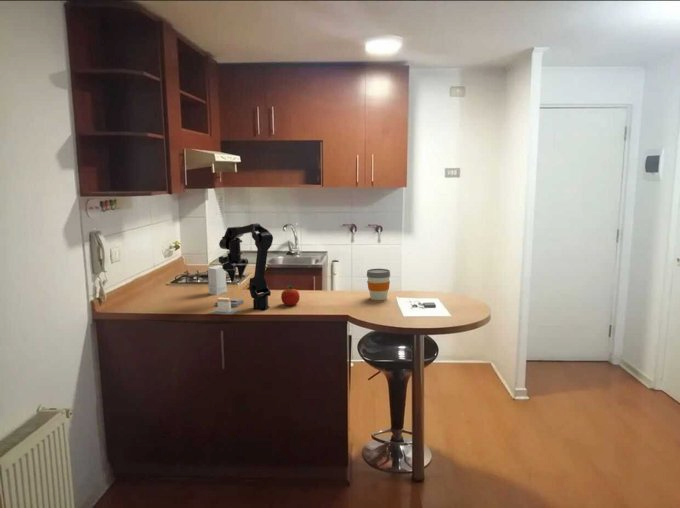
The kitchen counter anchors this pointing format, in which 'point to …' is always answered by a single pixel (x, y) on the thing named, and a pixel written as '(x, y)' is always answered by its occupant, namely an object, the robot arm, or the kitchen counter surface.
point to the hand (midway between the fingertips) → (236, 279)
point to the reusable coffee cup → (378, 283)
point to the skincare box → (217, 280)
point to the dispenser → (234, 303)
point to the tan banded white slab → (224, 304)
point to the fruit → (290, 296)
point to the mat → (225, 312)
